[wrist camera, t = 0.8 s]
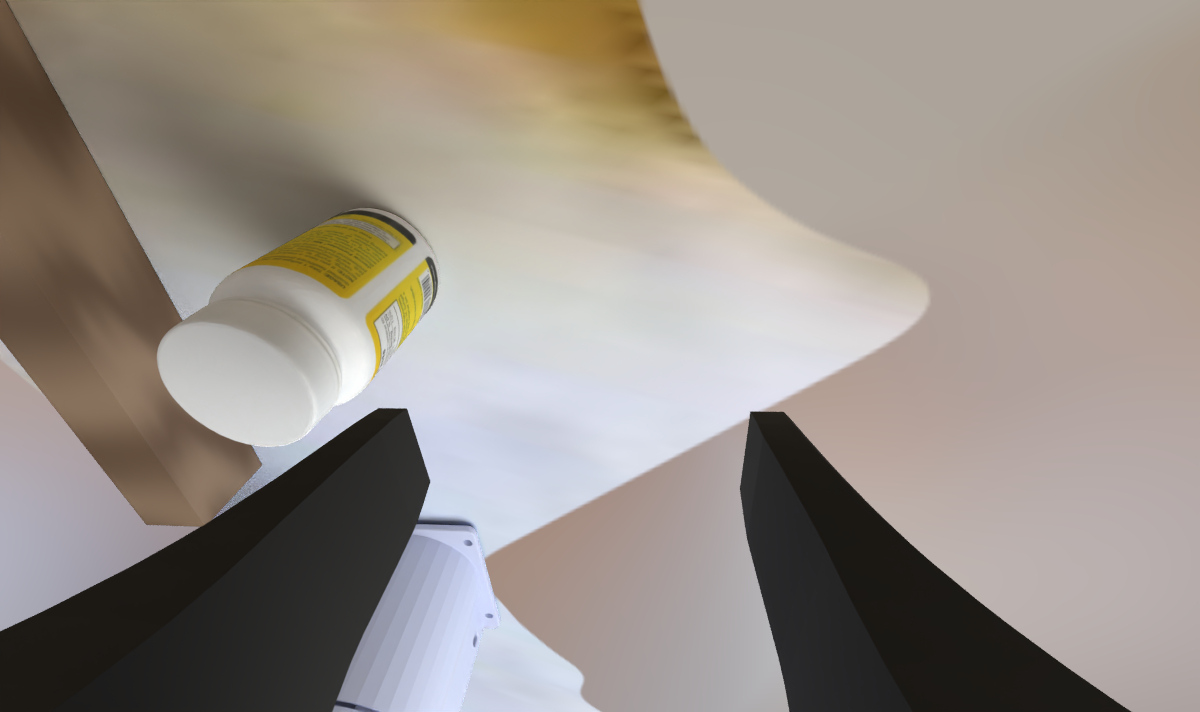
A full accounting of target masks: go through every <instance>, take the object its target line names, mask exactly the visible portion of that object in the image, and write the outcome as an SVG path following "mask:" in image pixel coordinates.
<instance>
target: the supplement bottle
mask: <svg viewBox="0 0 1200 712" xmlns="http://www.w3.org/2000/svg"><path fill="white" fill-rule="evenodd" d="M439 287H440V271H439V267H438V262H437V260H436V257H435V255H434V253H433V251H432V249H431V248H430V246H429V244H428V243H427V242H426V240H425V239H424V238H423V237H422V236H421V235H420V233H419V232H418V231H417V230H415V229H414V228H413V227H412V226H411V225H410V224H408V223H407V222H406V221H404V220H403V219H401V218H400V217H398V216H396V215H394V214H392V213H389V212H386V211H383V210H379V209H373V208H357V209H352V210H348V211H345V212H343V213H340V214H338V215H336V216H334V217H332V218H330V219H328V220H327V221H325V222H323V223H321V224H320V225H318V226H316V227H314V228H313V229H311V230H309V231H307V232H305V233H303V234H302V235H300V236H298V237H296V238H294V239H293V240H291V241H289V242H287V243H285V244H284V245H282V246H280V247H278V248H276V249H275V250H273V251H271V252H269V253H267V254H266V255H264V256H262V257H260V258H258V259H257V260H255V261H253V262H251V263H249V264H248V265H246V266H244V267H242V268H240V269H239V270H237V271H235V272H233V273H232V274H230V275H229V276H227V277H226V278H225V279H224V280H223V281H222V282H221V283H220V284H219V285H218V286H217V287H216V289H215V290H214V292H213V293H212V295H211V297H210V300H209V304H208V305H207V306H205V307H204V308H202V309H200V310H199V311H198V312H196V313H194V314H193V315H191V316H189V317H188V318H186V319H185V320H183V321H182V322H180V323H179V324H177V325H176V326H174V327H173V328H172V329H170V330H169V331H168V332H167V333H166V334H165V336H164V337H163V338H162V340H161V342H160V344H159V347H158V351H157V364H158V369H159V373H160V376H161V379H162V381H163V383H164V385H165V387H166V388H167V390H168V391H169V393H170V394H171V396H172V397H173V398H174V399H175V401H176V402H177V403H178V404H179V405H180V406H181V407H182V408H183V409H184V410H185V411H186V412H187V413H188V414H189V415H191V416H192V417H193V418H194V419H196V420H197V421H198V422H200V423H201V424H203V425H204V426H206V427H207V428H209V429H211V430H212V431H214V432H216V433H218V434H220V435H222V436H225V437H227V438H229V439H232V440H235V441H238V442H241V443H245V444H249V445H254V446H262V447H276V446H283V445H287V444H290V443H293V442H295V441H298V440H300V439H301V438H303V437H304V436H305V435H306V434H308V433H309V432H310V431H311V430H312V429H313V427H314V426H315V425H316V424H317V423H318V422H319V421H320V420H321V419H322V418H323V417H324V416H325V415H326V414H327V413H328V412H329V411H330V410H331V409H332V408H333V407H334V406H338V405H341V404H343V403H345V402H347V401H349V400H351V399H353V398H354V397H356V396H357V395H358V394H359V393H360V392H361V391H363V390H364V389H365V387H366V386H367V385H368V384H369V383H370V382H371V380H372V379H373V378H374V377H375V375H376V374H377V373H378V372H379V370H380V369H381V368H382V367H383V366H384V364H385V363H386V362H387V361H388V359H389V358H390V357H391V356H392V355H393V353H394V352H395V351H396V350H397V348H398V347H399V346H400V345H401V344H402V342H403V341H404V340H405V339H406V337H407V336H408V335H409V334H410V332H411V331H412V330H413V329H414V327H415V326H416V325H417V324H418V322H419V321H420V320H421V319H422V317H423V316H424V315H425V314H426V313H427V312H428V310H429V309H430V308H431V306H432V305H433V303H434V301H435V299H436V297H437V295H438V292H439Z"/></svg>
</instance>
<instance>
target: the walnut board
mask: <svg viewBox="0 0 1200 712" xmlns="http://www.w3.org/2000/svg"><path fill="white" fill-rule="evenodd" d="M180 322H182V319H181V318H180V316H179V314H178V312H177V310H176V309H175V307H174V305H173V303H172V301H171V300H170V298H169V296H168V294H167V292H166V291H165V289H164V287H163V285H162V283H161V281H160V280H159V278H158V276H157V274H156V272H155V271H154V269H153V267H152V265H151V263H150V262H149V260H148V258H147V256H146V254H145V253H144V251H143V249H142V247H141V245H140V243H139V242H138V240H137V238H136V236H135V234H134V233H133V231H132V229H131V227H130V225H129V224H128V222H127V220H126V218H125V216H124V215H123V213H122V211H121V209H120V207H119V205H118V204H117V202H116V200H115V198H114V196H113V195H112V193H111V191H110V189H109V187H108V186H107V184H106V182H105V180H104V178H103V177H102V175H101V173H100V171H99V169H98V167H97V166H96V164H95V162H94V160H93V158H92V157H91V155H90V153H89V151H88V149H87V148H86V146H85V144H84V142H83V140H82V139H81V137H80V135H79V133H78V131H77V129H76V128H75V126H74V124H73V122H72V120H71V119H70V117H69V115H68V113H67V111H66V110H65V108H64V106H63V104H62V102H61V101H60V99H59V97H58V95H57V93H56V91H55V90H54V88H53V86H52V84H51V82H50V81H49V79H48V77H47V75H46V73H45V72H44V70H43V68H42V66H41V64H40V63H39V61H38V59H37V57H36V55H35V53H34V52H33V50H32V48H31V46H30V44H29V43H28V41H27V39H26V37H25V35H24V34H23V32H22V30H21V28H20V26H19V25H18V23H17V21H16V19H15V17H14V15H13V14H12V12H11V10H10V8H9V6H8V5H7V3H6V1H5V0H0V339H1V340H2V342H3V343H4V344H5V345H6V347H7V348H8V349H9V350H10V352H11V353H12V354H13V356H14V357H15V358H16V359H17V361H18V362H19V363H20V364H21V366H22V367H23V368H24V370H25V371H26V372H27V373H28V375H29V376H30V377H31V378H32V380H33V381H34V382H35V384H36V385H37V386H38V387H39V389H40V390H41V391H42V392H43V394H44V395H45V396H46V398H47V399H48V400H49V401H50V403H51V404H52V405H53V406H54V408H55V409H56V410H57V412H58V413H59V414H60V415H61V417H62V418H63V419H64V421H65V422H66V423H67V424H68V426H69V427H70V428H71V429H72V431H73V432H74V433H75V435H76V436H77V437H78V438H79V439H80V441H81V442H82V443H83V444H84V446H85V447H86V449H88V451H89V452H90V454H92V456H93V457H94V459H95V460H96V461H97V463H98V464H99V465H100V466H101V467H102V469H103V470H104V471H105V473H106V474H107V475H108V476H109V478H110V479H111V480H112V482H113V483H114V484H115V485H116V487H117V488H118V489H119V490H120V492H121V493H122V494H123V496H124V497H125V498H126V499H127V501H128V502H129V503H130V505H131V506H132V507H133V508H134V510H135V511H136V512H137V513H138V515H139V516H140V517H141V518H142V520H143V521H144V522H145V524H147V525H170V526H171V525H172V526H200V527H201V526H203V525H205V524H206V523H208V522H210V521H211V520H212V519H213V518H214V517H215V516H216V514H217V513H218V512H219V511H220V510H221V509H222V508H223V507H224V506H225V505H226V504H227V503H228V502H229V500H230V499H231V498H232V497H233V496H234V495H235V494H236V493H237V492H238V491H239V490H240V489H241V487H242V486H243V485H244V484H245V483H246V482H247V481H248V480H249V479H250V478H251V477H252V476H253V475H254V473H255V472H256V471H257V470H258V469H259V468H260V467H261V466H262V464H261V462H260V461H259V459H258V457H257V455H256V453H255V452H254V450H253V448H252V446H251V445H249V444H245V443H241V442H238V441H235V440H232V439H229V438H227V437H225V436H222V435H220V434H218V433H216V432H214V431H212V430H211V429H209V428H207V427H206V426H204V425H203V424H201V423H200V422H198V421H197V420H196V419H194V418H193V417H192V416H191V415H189V414H188V413H187V412H186V411H185V410H184V409H183V408H182V407H181V406H180V405H179V404H178V403H177V402H176V401H175V399H174V398H173V397H172V396H171V394H170V393H169V391H168V390H167V388H166V387H165V385H164V383H163V381H162V379H161V376H160V373H159V369H158V364H157V351H158V347H159V344H160V342H161V340H162V338H163V337H164V336H165V334H166V333H167V332H168V331H169V330H170V329H172V328H173V327H174V326H176V325H177V324H179V323H180Z"/></svg>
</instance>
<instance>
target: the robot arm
mask: <svg viewBox="0 0 1200 712" xmlns="http://www.w3.org/2000/svg"><path fill="white" fill-rule="evenodd" d="M429 484H430V479H429V476H428V473H427V470H426V467H425V464H424V460H423V457H422V454H421V451H420V448H419V445H418V442H417V439H416V435H415V432H414V429H413V426H412V423H411V420H410V417H409V414H408V410H407V409H393V408H378V409H377V410H375V411H373V412H372V413H370V414H368V415H367V416H365V417H364V418H362V419H361V420H359V421H358V422H356V423H355V424H353V425H352V426H350V427H349V428H347V429H346V430H345V431H343V432H342V433H340V434H339V435H337V436H336V437H335V438H333V439H332V440H330V441H329V442H328V443H326V444H325V445H323V446H322V447H320V448H319V449H318V450H316V451H315V452H313V453H312V454H310V455H309V456H308V457H306V458H305V459H303V460H302V461H300V462H299V463H298V464H296V465H295V466H293V467H292V468H290V469H289V470H288V471H286V472H285V473H283V474H282V475H280V476H279V477H277V478H276V479H274V480H273V481H271V482H270V483H268V484H267V485H265V486H264V487H262V488H261V489H259V490H258V491H256V492H255V493H253V494H251V495H250V496H248V497H247V498H245V499H244V500H242V501H241V502H239V503H238V504H236V505H235V506H233V507H232V508H230V509H228V510H227V511H225V512H224V513H222V514H221V515H219V516H218V517H216V518H214V519H213V520H211V521H210V522H208V523H206V524H205V525H203V526H201V527H200V528H198V529H196V530H195V531H193V532H191V533H190V534H188V535H186V536H185V537H183V538H181V539H180V540H178V541H176V542H174V543H173V544H171V545H169V546H167V547H165V548H164V549H162V550H160V551H158V552H157V553H155V554H153V555H151V556H149V557H148V558H146V559H144V560H142V561H140V562H139V563H137V564H135V565H133V566H131V567H129V568H128V569H126V570H124V571H122V572H120V573H118V574H116V575H114V576H112V577H110V578H108V579H106V580H104V581H102V582H100V583H98V584H96V585H94V586H92V587H90V588H88V589H86V590H84V591H82V592H80V593H79V594H76V595H75V596H73V597H71V598H69V599H67V600H65V601H63V602H61V603H59V604H57V605H55V606H53V607H51V608H49V609H47V610H45V611H43V612H41V613H39V614H37V615H34V616H32V617H30V618H28V619H26V620H24V621H22V622H19V623H17V624H15V625H13V626H11V627H9V628H7V629H4V630H2V631H0V712H461V708H462V705H463V701H464V698H465V694H466V690H467V687H468V683H469V680H470V676H471V673H472V669H473V666H474V662H475V658H476V655H477V651H478V648H479V644H480V641H481V637H482V633H483V630H484V628H486V629H496V628H498V627H499V625H500V621H501V620H500V616H499V612H498V608H497V605H496V601H495V597H494V594H493V590H492V586H491V583H490V579H489V575H488V572H487V568H486V564H485V560H484V557H483V553H482V549H481V546H480V542H479V538H478V534H477V531H476V530H475V529H474V528H473V527H471V526H462V525H431V524H417V521H418V518H419V515H420V512H421V509H422V506H423V503H424V500H425V497H426V494H427V490H428V487H429ZM740 492H741V500H742V507H743V514H744V521H745V528H746V534H747V540H748V544H749V547H750V552H751V556H752V559H753V563H754V567H755V571H756V575H757V579H758V582H759V586H760V590H761V594H762V597H763V601H764V605H765V609H766V612H767V616H768V620H769V624H770V627H771V631H772V635H773V639H774V642H775V646H776V650H777V654H778V657H779V662H780V666H781V671H782V675H783V679H784V684H785V689H786V694H787V700H788V706H789V712H1131V711H1129V710H1128V709H1126V708H1125V707H1123V706H1122V705H1120V704H1119V703H1117V702H1116V701H1114V700H1113V699H1112V698H1110V697H1109V696H1107V695H1106V694H1104V693H1103V692H1101V691H1100V690H1099V689H1097V688H1096V687H1094V686H1093V685H1091V684H1090V683H1089V682H1087V681H1086V680H1084V679H1083V678H1081V677H1080V676H1078V675H1077V674H1075V673H1074V672H1073V671H1071V670H1070V669H1068V668H1067V667H1066V666H1064V665H1063V664H1062V663H1060V662H1059V661H1058V660H1056V659H1055V658H1053V657H1052V656H1051V655H1049V654H1048V653H1046V652H1045V651H1044V650H1042V649H1041V648H1040V647H1038V646H1037V645H1036V644H1034V643H1033V642H1031V641H1030V640H1029V639H1027V638H1026V637H1025V636H1024V635H1022V634H1021V633H1019V632H1018V631H1017V630H1015V629H1014V628H1013V627H1011V626H1010V625H1009V624H1007V623H1006V622H1004V621H1003V620H1002V619H1001V618H1000V617H998V616H997V615H996V614H994V613H993V612H992V611H991V610H989V609H988V608H987V607H985V606H984V605H983V604H981V603H980V602H979V601H978V600H977V599H975V598H974V597H973V596H972V595H970V594H969V593H968V592H967V591H966V590H964V589H963V588H962V587H961V586H960V585H958V584H957V583H956V582H955V581H953V580H952V579H951V578H950V577H949V576H947V575H946V574H945V573H944V572H943V571H941V570H940V569H939V568H938V567H937V566H935V565H934V564H933V563H932V562H931V561H929V560H928V559H927V558H926V557H925V556H924V555H923V554H921V553H920V552H919V551H918V550H917V549H916V548H915V547H914V546H912V545H911V544H910V543H909V542H908V541H907V540H906V539H905V538H904V537H903V536H902V535H901V534H899V533H898V532H897V531H896V530H895V529H894V528H893V527H892V526H891V525H890V524H889V523H888V522H887V521H886V520H885V519H884V518H882V517H881V515H879V514H878V513H877V512H876V511H875V510H874V509H873V508H872V507H871V506H870V505H869V504H868V503H867V502H866V501H865V500H864V499H863V498H862V496H861V495H860V494H859V493H857V491H856V490H855V489H854V488H853V487H852V486H851V485H850V484H849V483H848V482H847V481H846V480H845V479H844V478H843V477H842V476H841V475H840V474H839V473H838V472H837V470H835V468H834V467H833V466H832V465H831V464H830V463H829V462H828V461H827V460H826V458H825V457H824V456H823V455H822V454H821V453H820V452H819V451H818V450H817V448H816V447H815V446H814V445H813V444H812V443H811V442H810V441H809V440H808V438H807V437H806V436H805V435H804V434H803V433H802V432H801V430H800V429H799V428H798V427H797V426H796V425H795V423H794V422H793V421H792V420H791V419H790V418H789V417H788V416H787V415H786V414H785V413H784V412H750V419H749V427H748V434H747V442H746V449H745V456H744V463H743V471H742V478H741V485H740Z"/></svg>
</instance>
